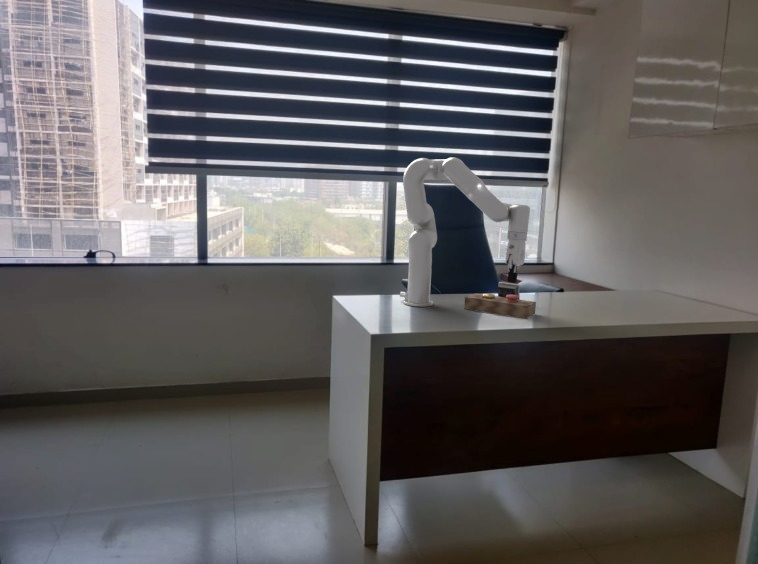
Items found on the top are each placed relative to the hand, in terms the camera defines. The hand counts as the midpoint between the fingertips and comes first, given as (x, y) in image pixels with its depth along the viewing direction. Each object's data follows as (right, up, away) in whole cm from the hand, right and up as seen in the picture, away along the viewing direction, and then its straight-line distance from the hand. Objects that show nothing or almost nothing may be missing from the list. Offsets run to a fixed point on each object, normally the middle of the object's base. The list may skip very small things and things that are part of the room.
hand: (511, 282), depth 221 cm
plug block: (-4, -12, +4) cm, 13 cm away
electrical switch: (+4, -10, +22) cm, 24 cm away
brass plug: (-8, -11, +7) cm, 16 cm away
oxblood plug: (0, -12, +2) cm, 12 cm away
